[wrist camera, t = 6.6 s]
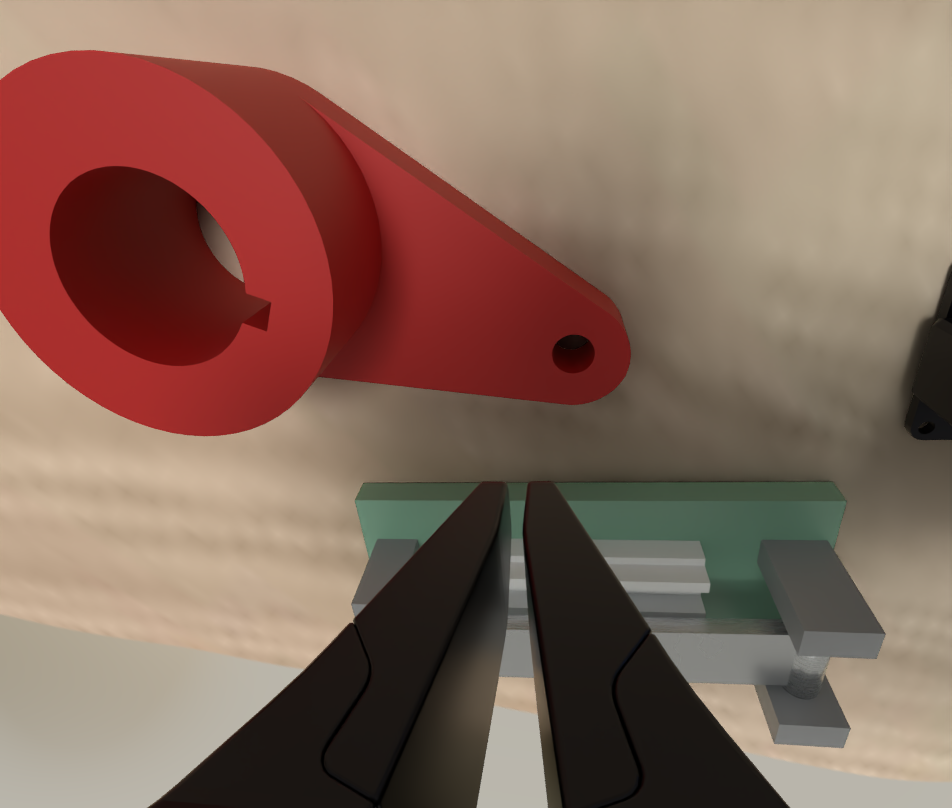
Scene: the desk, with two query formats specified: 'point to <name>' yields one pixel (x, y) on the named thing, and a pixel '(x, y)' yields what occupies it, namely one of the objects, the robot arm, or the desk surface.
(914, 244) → the desk surface
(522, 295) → the lever
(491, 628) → the robot arm
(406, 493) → the base
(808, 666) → the strap
